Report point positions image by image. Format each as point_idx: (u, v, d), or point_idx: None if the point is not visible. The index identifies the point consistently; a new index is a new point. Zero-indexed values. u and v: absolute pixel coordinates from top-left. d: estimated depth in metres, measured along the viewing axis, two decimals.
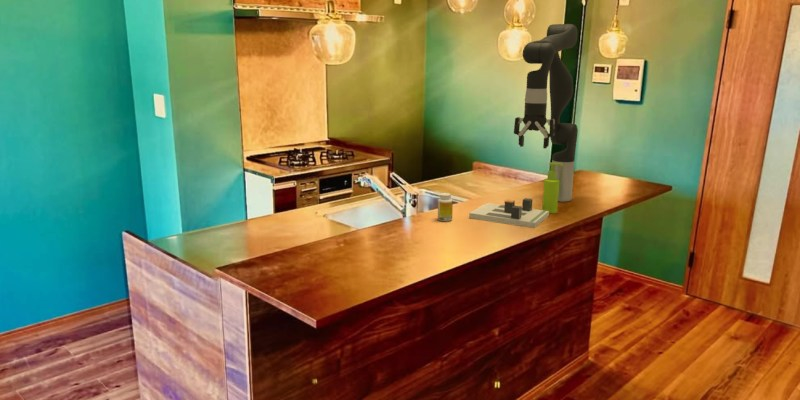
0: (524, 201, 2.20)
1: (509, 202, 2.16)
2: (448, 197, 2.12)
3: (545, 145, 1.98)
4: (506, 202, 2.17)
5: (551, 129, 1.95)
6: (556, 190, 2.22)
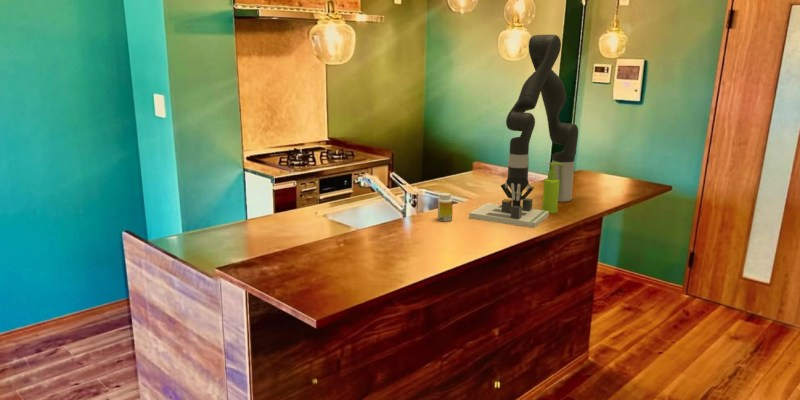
0: (524, 201, 2.20)
1: (506, 202, 2.17)
2: (448, 197, 2.12)
3: None
4: (503, 202, 2.17)
5: (525, 194, 2.12)
6: (556, 190, 2.22)
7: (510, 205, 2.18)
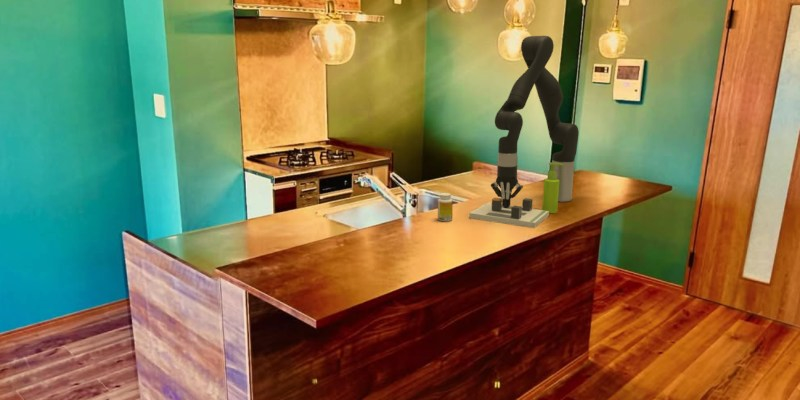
0: (524, 201, 2.20)
1: (496, 200, 2.19)
2: (448, 197, 2.12)
3: (507, 205, 2.17)
4: (493, 200, 2.19)
5: (515, 193, 2.14)
6: (556, 190, 2.22)
7: (500, 204, 2.20)
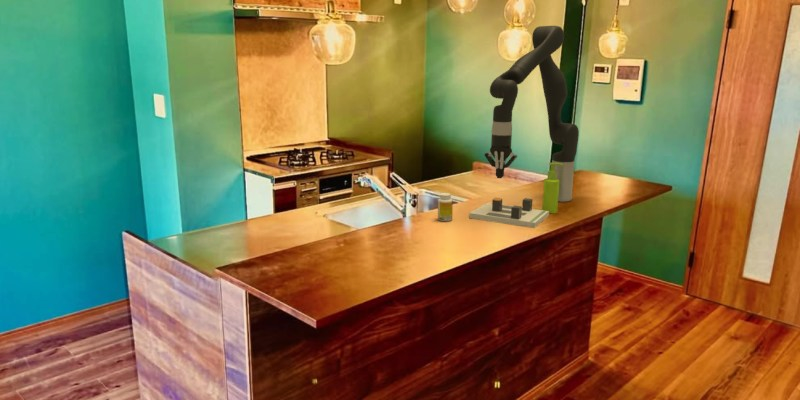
0: (524, 201, 2.20)
1: (497, 200, 2.18)
2: (448, 197, 2.12)
3: (500, 175, 2.16)
4: (494, 200, 2.19)
5: (508, 162, 2.13)
6: (556, 190, 2.22)
7: (500, 204, 2.20)
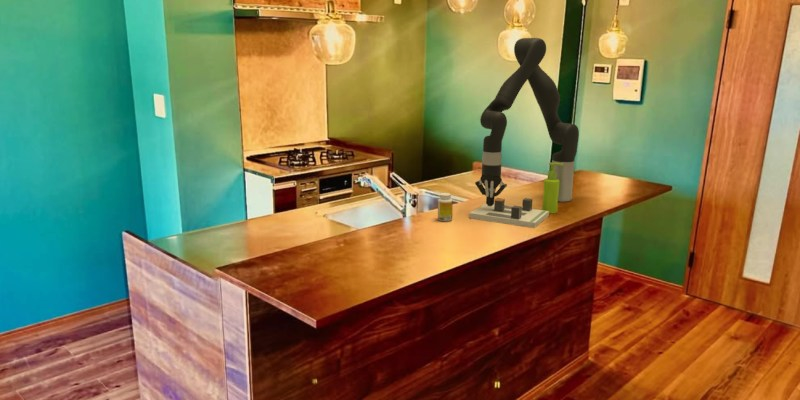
0: (524, 201, 2.20)
1: (499, 201, 2.18)
2: (448, 197, 2.12)
3: (491, 203, 2.21)
4: (496, 201, 2.19)
5: (498, 191, 2.18)
6: (556, 190, 2.22)
7: (503, 204, 2.19)
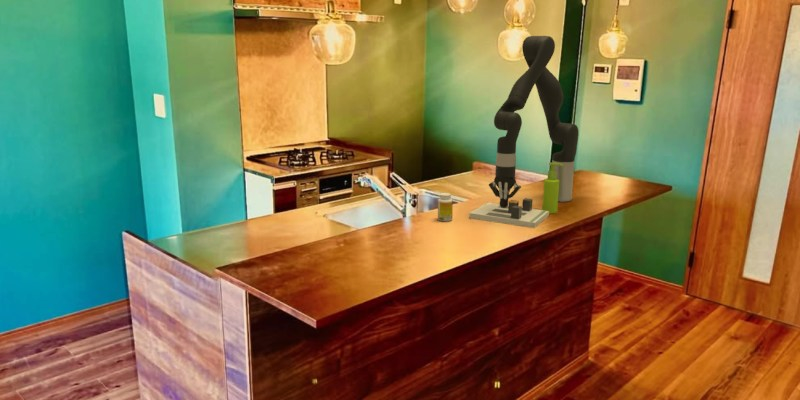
0: (524, 201, 2.20)
1: (513, 203, 2.15)
2: (448, 197, 2.12)
3: (504, 205, 2.18)
4: (510, 203, 2.16)
5: (512, 193, 2.15)
6: (556, 190, 2.22)
7: None
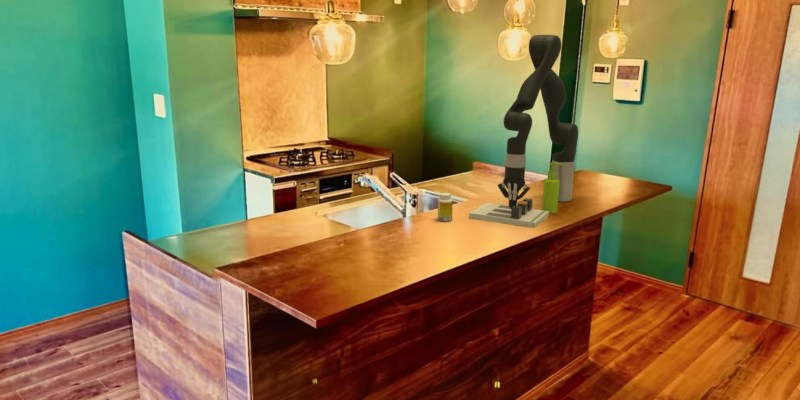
0: None
1: (522, 204, 2.13)
2: (448, 197, 2.12)
3: None
4: (519, 204, 2.14)
5: (522, 194, 2.13)
6: (556, 190, 2.22)
7: (526, 207, 2.15)
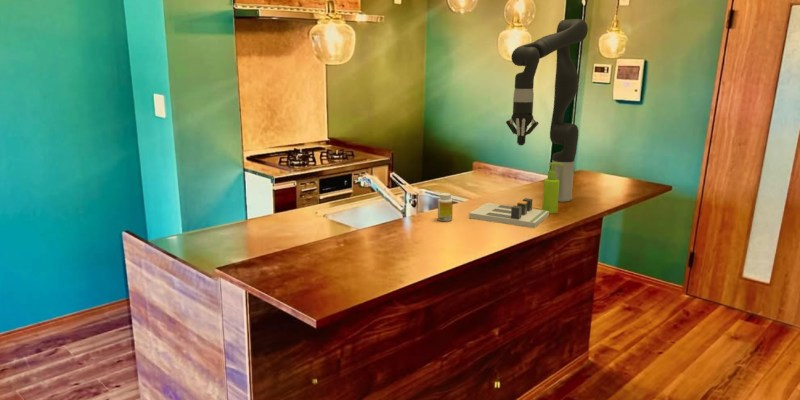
0: None
1: (522, 204, 2.14)
2: (448, 197, 2.12)
3: (522, 142, 2.19)
4: (519, 204, 2.14)
5: (530, 129, 2.16)
6: (556, 190, 2.22)
7: (526, 207, 2.15)
